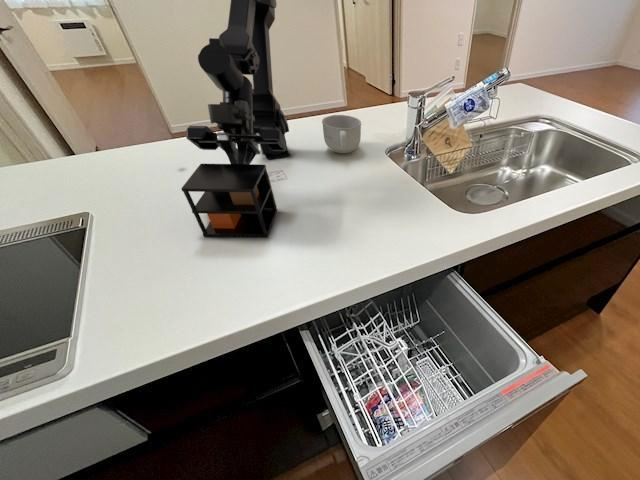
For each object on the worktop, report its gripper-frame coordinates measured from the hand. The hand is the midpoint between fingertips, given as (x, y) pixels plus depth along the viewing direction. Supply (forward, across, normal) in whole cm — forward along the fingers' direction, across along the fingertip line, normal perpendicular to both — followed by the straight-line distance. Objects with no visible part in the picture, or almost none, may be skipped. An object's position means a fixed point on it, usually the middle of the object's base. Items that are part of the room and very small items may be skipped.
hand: (238, 179), depth 73 cm
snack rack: (+9, 0, +2) cm, 9 cm away
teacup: (-17, +19, +27) cm, 37 cm away
